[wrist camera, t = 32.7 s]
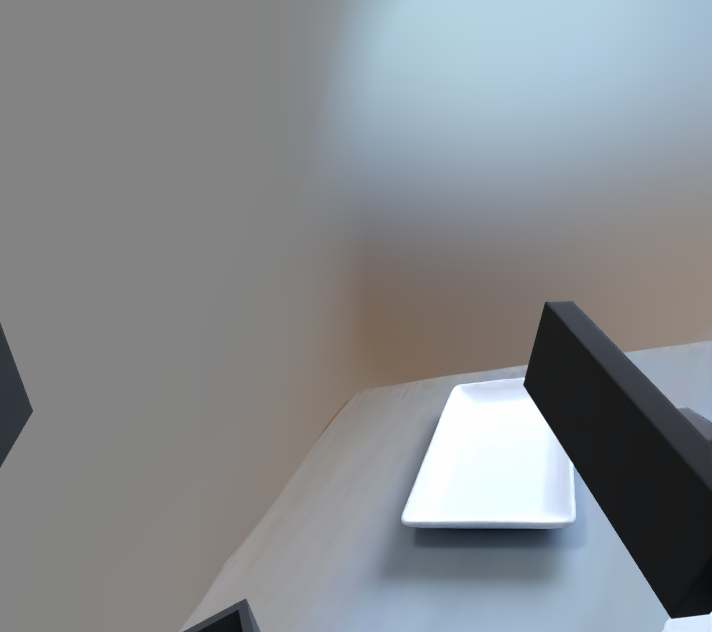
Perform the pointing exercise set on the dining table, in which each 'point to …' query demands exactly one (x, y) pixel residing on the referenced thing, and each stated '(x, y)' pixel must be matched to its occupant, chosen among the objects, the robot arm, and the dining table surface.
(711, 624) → the supplement bottle
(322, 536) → the dining table surface
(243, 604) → the bin
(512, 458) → the tray
